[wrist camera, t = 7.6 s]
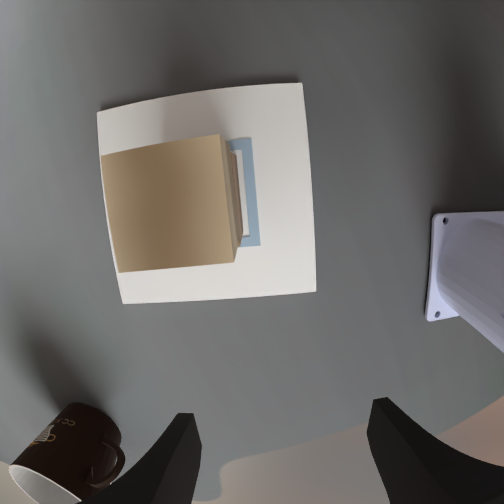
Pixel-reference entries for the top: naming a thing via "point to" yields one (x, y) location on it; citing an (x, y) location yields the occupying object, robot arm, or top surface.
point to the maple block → (172, 204)
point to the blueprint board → (250, 184)
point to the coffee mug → (70, 457)
